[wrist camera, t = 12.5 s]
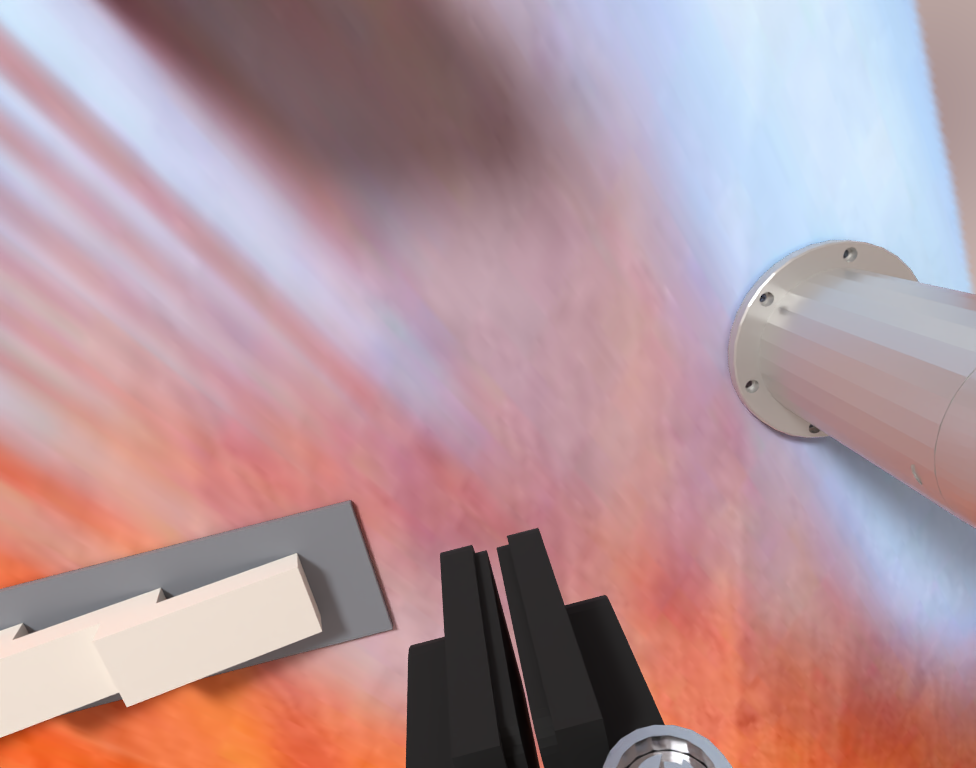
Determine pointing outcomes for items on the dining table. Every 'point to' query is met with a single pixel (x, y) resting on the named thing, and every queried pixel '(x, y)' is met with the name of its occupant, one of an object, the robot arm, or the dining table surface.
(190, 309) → the dining table surface
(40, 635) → the domino
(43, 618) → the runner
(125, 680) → the domino
